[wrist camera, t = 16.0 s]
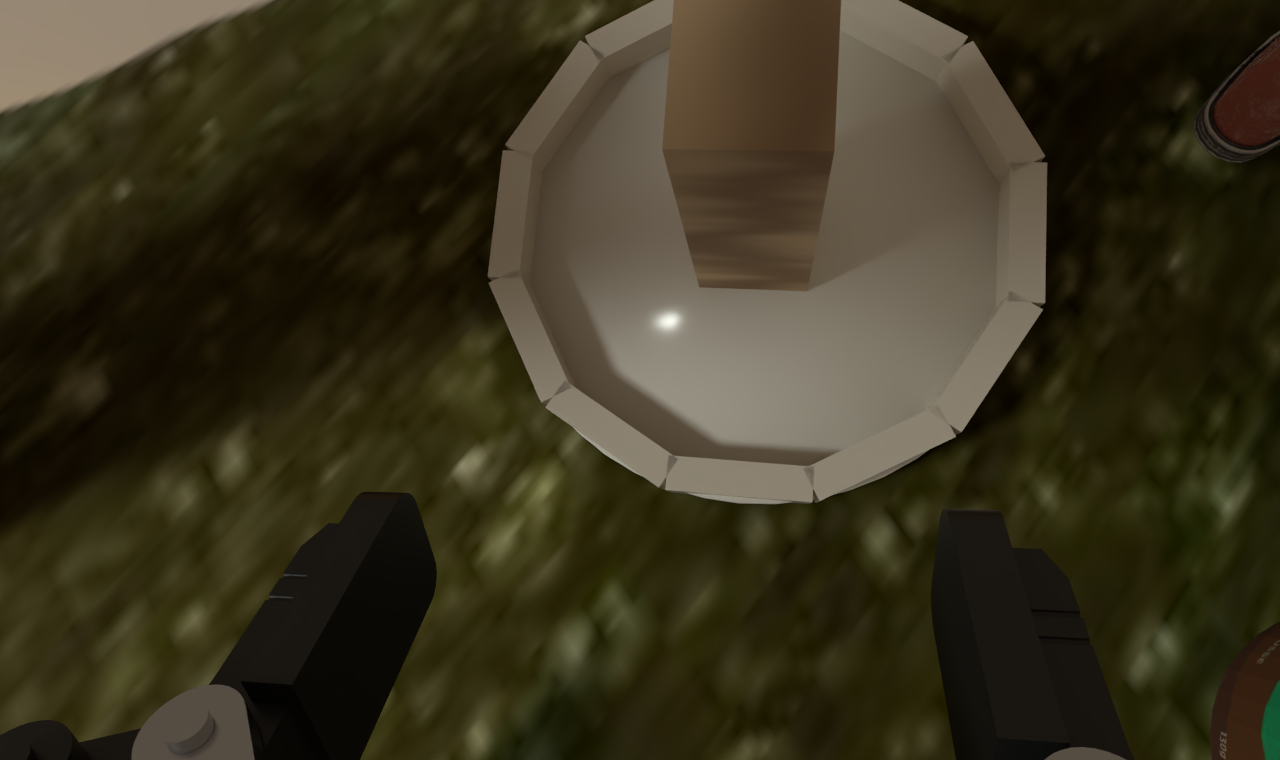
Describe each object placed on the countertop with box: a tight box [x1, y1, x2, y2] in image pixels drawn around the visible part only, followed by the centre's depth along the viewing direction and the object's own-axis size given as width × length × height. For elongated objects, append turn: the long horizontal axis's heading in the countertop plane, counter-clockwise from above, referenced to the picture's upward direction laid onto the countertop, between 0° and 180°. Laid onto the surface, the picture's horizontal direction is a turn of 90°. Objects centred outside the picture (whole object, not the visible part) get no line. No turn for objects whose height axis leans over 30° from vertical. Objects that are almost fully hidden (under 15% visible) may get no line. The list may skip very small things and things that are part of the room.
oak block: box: [662, 0, 841, 291], centre depth 26 cm, size 4×4×12 cm
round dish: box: [488, 0, 1047, 504], centre depth 31 cm, size 20×20×2 cm
